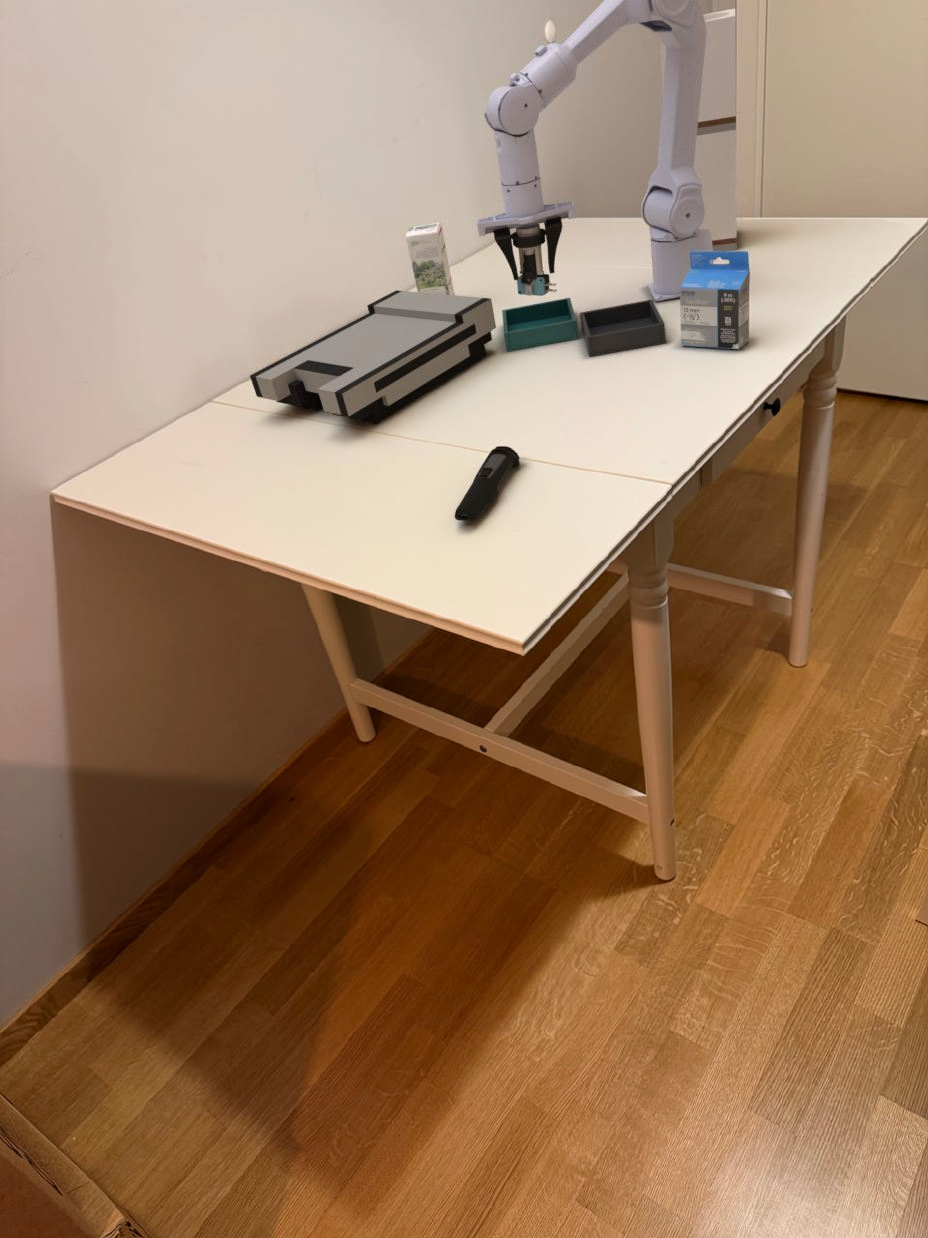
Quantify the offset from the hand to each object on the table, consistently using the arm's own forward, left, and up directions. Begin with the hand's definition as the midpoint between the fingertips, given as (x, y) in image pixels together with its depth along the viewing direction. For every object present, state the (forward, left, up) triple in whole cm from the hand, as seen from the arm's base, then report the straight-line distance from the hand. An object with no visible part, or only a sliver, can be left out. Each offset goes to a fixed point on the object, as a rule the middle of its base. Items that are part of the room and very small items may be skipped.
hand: (533, 274), depth 140 cm
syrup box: (+17, -20, -9) cm, 28 cm away
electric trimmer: (+9, +50, -9) cm, 52 cm away
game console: (+25, +10, -9) cm, 29 cm away
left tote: (0, 0, -9) cm, 9 cm away
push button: (0, 0, -3) cm, 3 cm away
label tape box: (-24, +17, -9) cm, 31 cm away
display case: (-32, -30, -9) cm, 45 cm away
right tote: (-12, +8, -9) cm, 17 cm away
